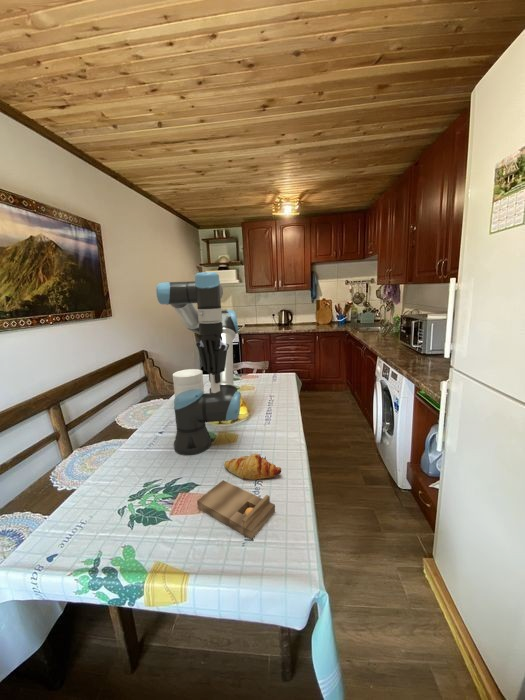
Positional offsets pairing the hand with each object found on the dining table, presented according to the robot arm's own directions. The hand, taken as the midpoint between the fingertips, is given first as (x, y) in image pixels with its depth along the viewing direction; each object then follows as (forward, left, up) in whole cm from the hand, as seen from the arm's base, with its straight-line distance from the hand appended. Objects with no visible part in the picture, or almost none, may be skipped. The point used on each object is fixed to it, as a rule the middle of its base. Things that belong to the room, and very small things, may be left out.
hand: (215, 391), depth 96 cm
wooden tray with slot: (+17, -12, -29) cm, 36 cm away
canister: (-56, +34, -30) cm, 72 cm away
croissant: (+10, +5, -30) cm, 32 cm away
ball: (+23, -12, -28) cm, 38 cm away
